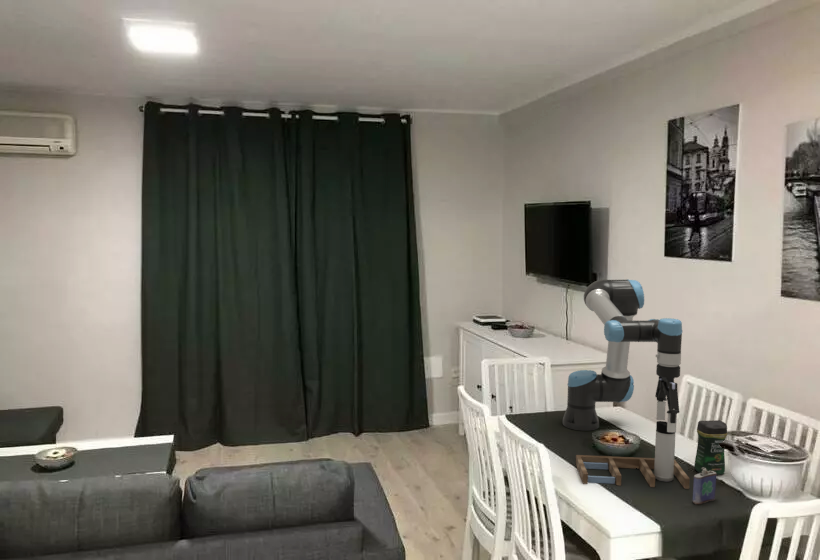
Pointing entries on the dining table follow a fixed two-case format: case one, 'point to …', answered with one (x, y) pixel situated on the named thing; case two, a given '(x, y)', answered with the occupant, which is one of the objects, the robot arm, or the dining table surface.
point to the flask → (704, 486)
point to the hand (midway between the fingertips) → (665, 425)
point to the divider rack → (628, 462)
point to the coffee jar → (710, 446)
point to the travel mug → (664, 453)
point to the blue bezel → (598, 478)
